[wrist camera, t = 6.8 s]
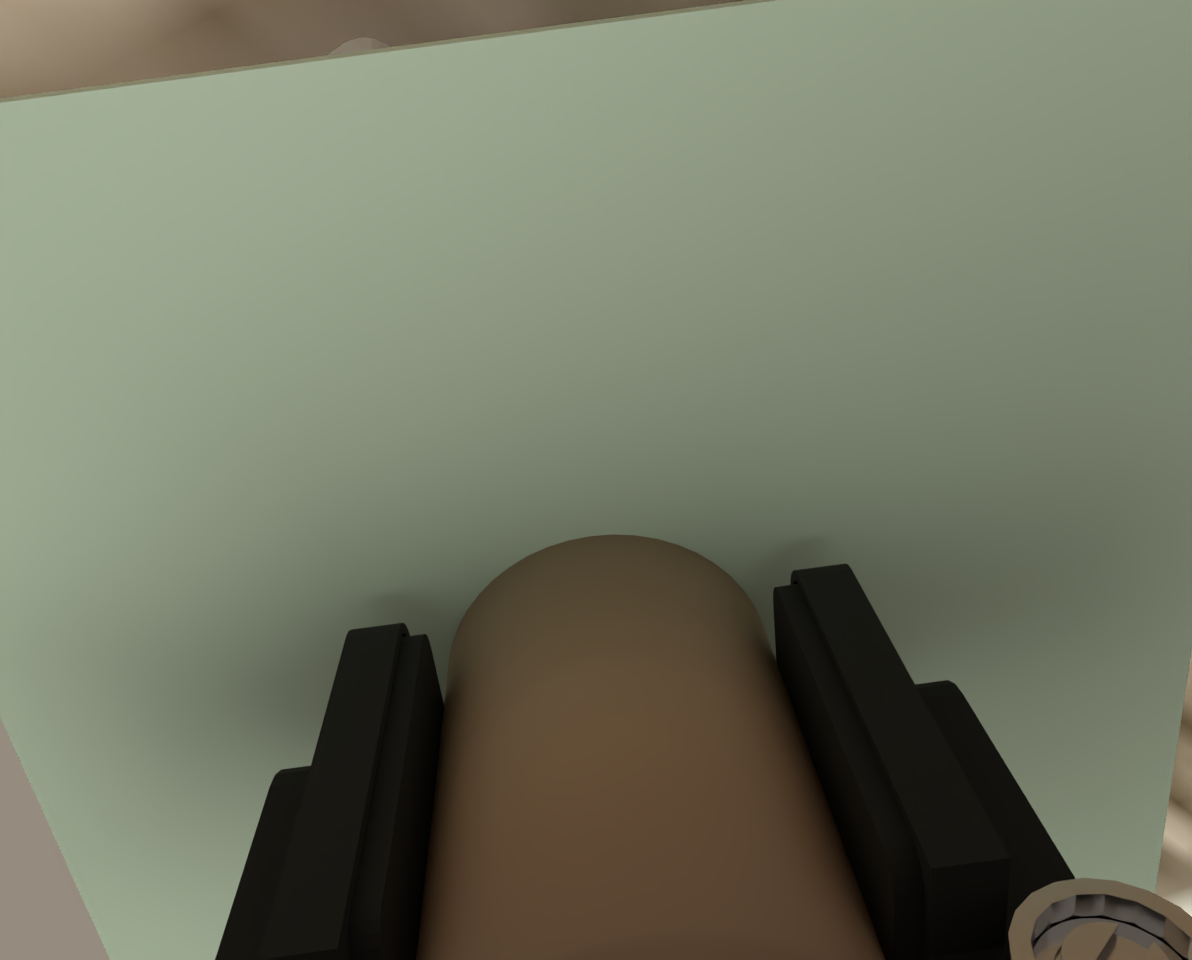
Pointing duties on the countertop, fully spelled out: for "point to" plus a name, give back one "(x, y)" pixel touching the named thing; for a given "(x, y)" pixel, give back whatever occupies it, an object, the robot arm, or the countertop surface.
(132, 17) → the countertop surface
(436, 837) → the lid
